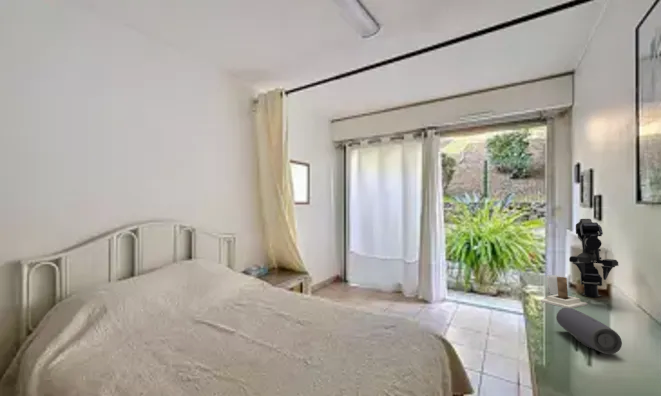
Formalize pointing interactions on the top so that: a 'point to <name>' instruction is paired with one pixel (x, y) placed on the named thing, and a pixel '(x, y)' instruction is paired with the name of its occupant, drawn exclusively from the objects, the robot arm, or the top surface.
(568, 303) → the socket
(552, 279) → the white cup
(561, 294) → the dowel
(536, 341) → the top surface
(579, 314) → the bluetooth speaker
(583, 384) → the top surface
